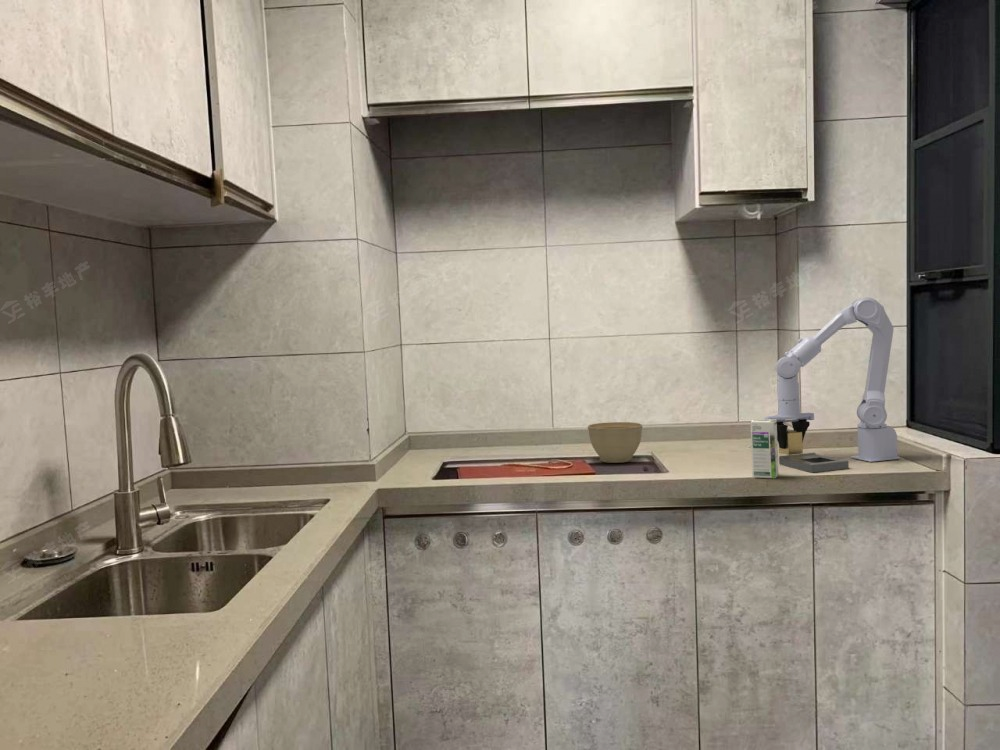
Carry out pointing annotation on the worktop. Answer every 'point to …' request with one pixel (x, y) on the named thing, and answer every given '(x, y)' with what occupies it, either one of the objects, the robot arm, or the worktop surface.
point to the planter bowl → (615, 440)
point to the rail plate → (813, 462)
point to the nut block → (793, 443)
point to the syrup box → (764, 448)
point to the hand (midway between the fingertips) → (790, 447)
